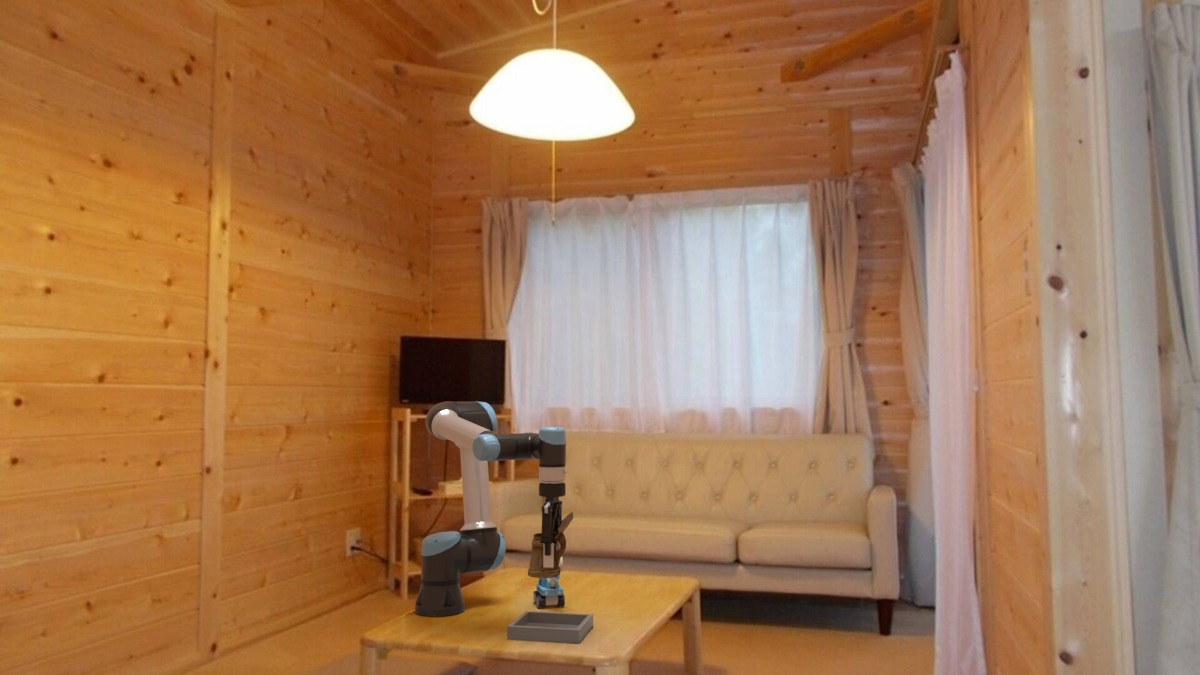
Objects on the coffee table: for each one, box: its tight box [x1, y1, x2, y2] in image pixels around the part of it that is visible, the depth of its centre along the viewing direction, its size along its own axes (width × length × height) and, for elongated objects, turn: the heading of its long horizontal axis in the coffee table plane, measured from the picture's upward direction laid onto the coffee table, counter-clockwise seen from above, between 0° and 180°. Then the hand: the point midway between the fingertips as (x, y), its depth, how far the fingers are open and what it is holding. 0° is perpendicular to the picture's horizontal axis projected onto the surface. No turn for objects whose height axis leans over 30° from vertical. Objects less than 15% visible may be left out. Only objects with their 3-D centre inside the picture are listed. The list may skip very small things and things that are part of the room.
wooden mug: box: [527, 511, 574, 579], centre depth 250 cm, size 9×14×18 cm, turn 66°
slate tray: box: [506, 610, 594, 645], centre depth 249 cm, size 20×18×4 cm
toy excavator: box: [532, 556, 566, 609], centre depth 280 cm, size 9×17×17 cm, turn 15°
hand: (551, 564), depth 250 cm, fingers closed on wooden mug, 7 cm apart
